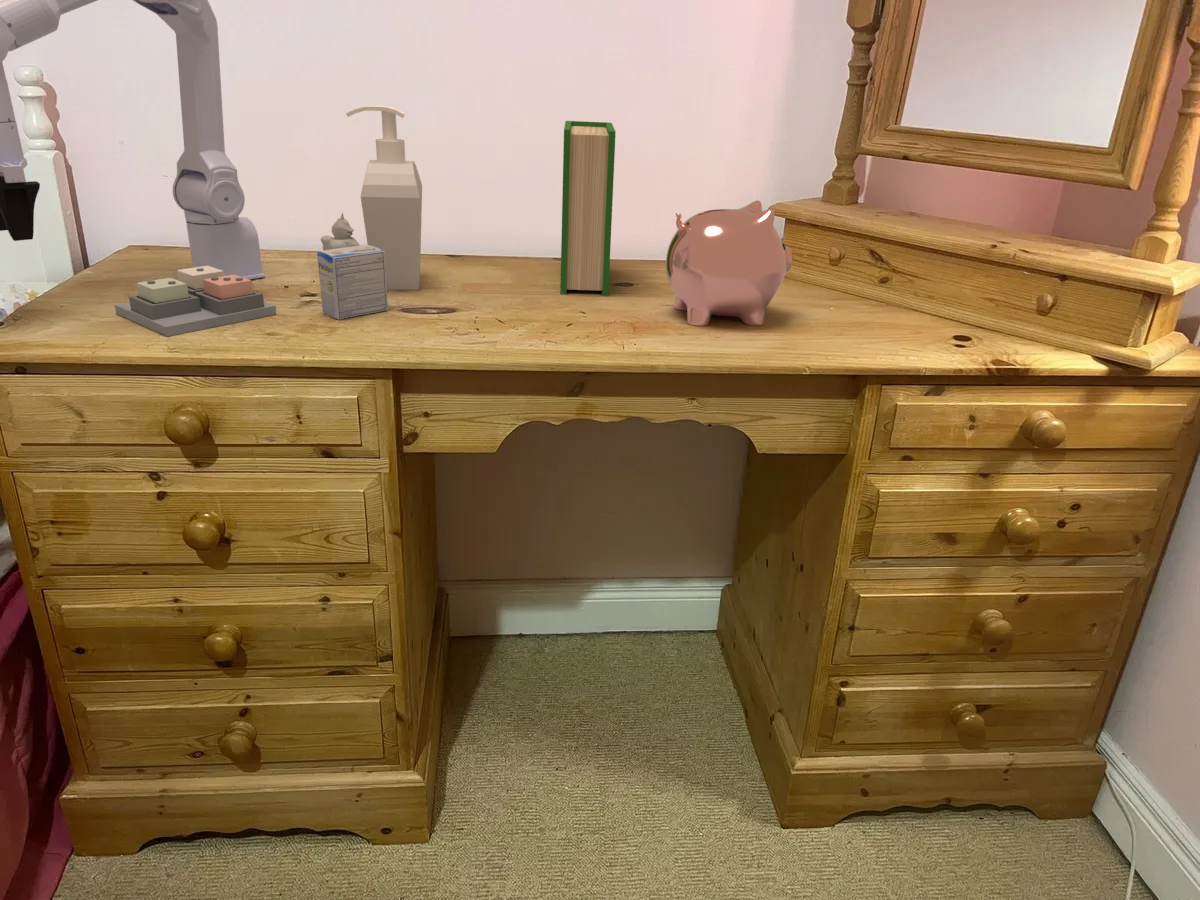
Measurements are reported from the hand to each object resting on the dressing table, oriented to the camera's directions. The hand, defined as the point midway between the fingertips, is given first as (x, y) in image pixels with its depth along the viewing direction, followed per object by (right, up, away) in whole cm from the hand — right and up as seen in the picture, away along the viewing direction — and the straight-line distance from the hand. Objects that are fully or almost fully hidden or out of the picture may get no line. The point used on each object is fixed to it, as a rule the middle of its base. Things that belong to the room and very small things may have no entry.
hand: (14, 234), depth 112 cm
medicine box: (+41, -9, +10) cm, 43 cm away
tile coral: (+25, -7, +5) cm, 26 cm away
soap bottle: (+42, -1, +26) cm, 49 cm away
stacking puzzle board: (+20, -9, +6) cm, 23 cm away
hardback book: (+72, 0, +32) cm, 79 cm away
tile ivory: (+20, -5, +9) cm, 22 cm away
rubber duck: (+30, +5, +40) cm, 50 cm away
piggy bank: (+93, -8, +17) cm, 94 cm away
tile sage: (+18, -8, +2) cm, 20 cm away
